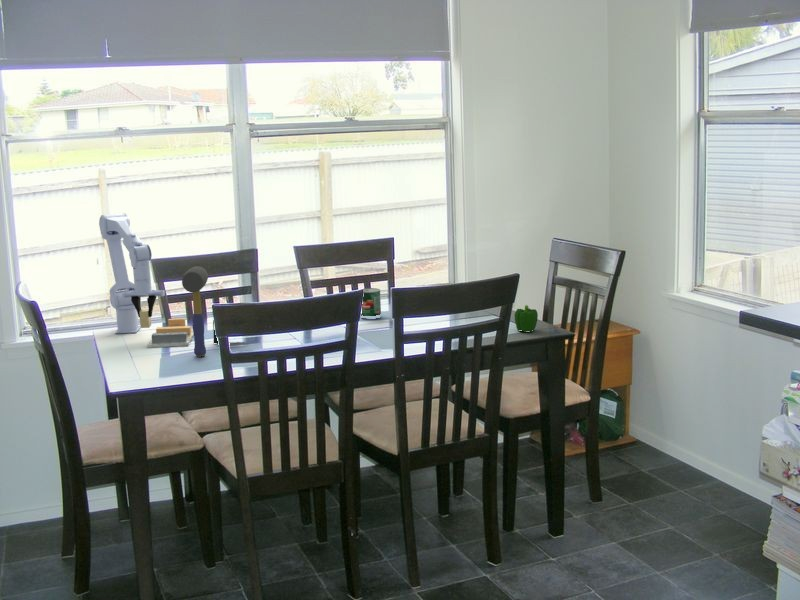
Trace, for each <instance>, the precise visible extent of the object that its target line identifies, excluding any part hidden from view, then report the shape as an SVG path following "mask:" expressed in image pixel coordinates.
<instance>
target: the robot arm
mask: <svg viewBox="0 0 800 600" xmlns="http://www.w3.org/2000/svg"><path fill="white" fill-rule="evenodd" d="M130 225H131V221H130V217H129V215H128V214H127V213H126V212H123V213H118V214H117V213H116V214H105V215H104V214H102V215H100V217H99V220H98V226H99V231H100V235H101V238H102V239H103V240H106V243H107V247H108V251H109V252H108V253H109V256H110V262H111V266H112V271H113V275H114V276H113V277H114V282H115V283H114V285H112V286H111V287H110V290H109V301H110V302H109V303H110V304H111V307H112V308H113V309H115V313H116V325H117V326H116V327H117V330H115V331H114V334H134V333H135V334H136V333H137V332H138V331H140V329H142V328H141V326H140V325H139V318H140V313H139V311H140V310H141V309H142V306H141V305H142V304H141V302H142V301H141V298H143V297H144V298H146V297H147V298H146V301H147V306H148V309H149V317H151V318H152V317H153V310H154V306H155V302H156V300H157V297H164V296H165V295H166V293H165V292H166V291H165V289H163V290H162V289H152V280H151V270H150V269H151V267H150V261H151V260H152V250H151V247H150V246H149V245H150V244H146V243H143V241H142V240H141V239H140V237H139V236H138V234H136V233H133V232H132V230H131V227H130ZM122 239H123V240H122ZM122 244H123V245H124V247H125V248H126V250H127V251H128V256H129V260H130V266H131V267H132V272H133V282H131V281H130V279H129V274H128V270H127V265H126V259H125V256H124V250H123V245H122Z"/></svg>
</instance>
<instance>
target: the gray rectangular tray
mask: <svg viewBox="0 0 800 600" xmlns="http://www.w3.org/2000/svg"><path fill="white" fill-rule="evenodd" d="M193 339H194V333H193V327H191V334H187V332H175V333H156V332H154V333H152V334H151V339H150V341H148V343H147V348H148V349H149V348H150V349H151V348H168V347H169V348H170V346H174V347H188V345H190V344H189V343H191V342H190V341H192V340H193Z"/></svg>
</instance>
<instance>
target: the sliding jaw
mask: <svg viewBox="0 0 800 600" xmlns="http://www.w3.org/2000/svg"><path fill="white" fill-rule="evenodd" d="M167 323H168V325H167V326H157V327H156V329H155V333H175V332H187V334H191V328H192V325H186V318H184V317H183V318H168V320H167Z"/></svg>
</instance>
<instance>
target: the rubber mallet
mask: <svg viewBox="0 0 800 600" xmlns="http://www.w3.org/2000/svg"><path fill="white" fill-rule="evenodd" d="M208 279H209V275H208V272H207V270H206V269H205V268H204V267H202V266H199V265H198V266H197V265H196V266H193V267H190V268H189V269H188V270H186V272H185V273H184V274H183V276H182V279H181V285H182V287H183V289H184V290H186V292H189V293H192V304H193V305H192V306H193V307H192V308H193V309H192V310H193V313H192V314H193V315H192V328H193V333H194V336H193V341H194V349H193V353H194V354H195V356H196V357H199V358H201V356H202V357H205V356H206V352H207V347H206V344H205V321H204V316H203V313H202V302H201V301H202V299H201V290H202V289H203V288H204V287H205V286H206V284H207V282H208ZM204 355H205V356H204Z"/></svg>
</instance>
